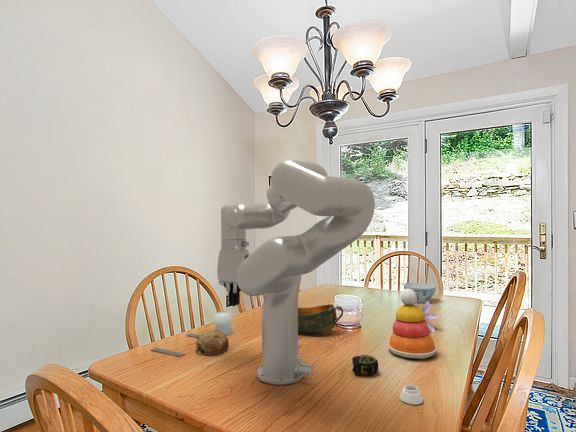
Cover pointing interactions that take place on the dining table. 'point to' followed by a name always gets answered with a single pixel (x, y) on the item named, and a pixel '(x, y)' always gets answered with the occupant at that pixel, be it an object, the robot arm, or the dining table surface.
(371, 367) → the tape measure
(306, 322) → the creamer
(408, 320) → the stacking toy
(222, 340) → the bread roll
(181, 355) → the strip
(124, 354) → the dining table surface
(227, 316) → the cup
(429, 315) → the water lily
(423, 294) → the chinaware
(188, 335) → the bay strip right
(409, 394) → the white jar
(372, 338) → the dining table surface
